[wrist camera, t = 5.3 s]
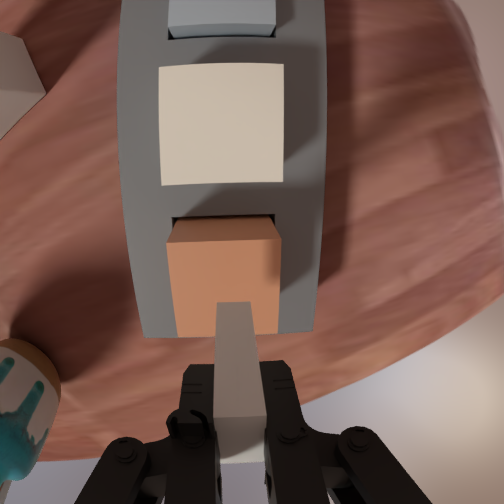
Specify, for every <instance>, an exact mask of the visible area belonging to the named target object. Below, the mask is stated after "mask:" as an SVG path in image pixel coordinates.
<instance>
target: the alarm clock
mask: <svg viewBox="0 0 504 504" xmlns="http://www.w3.org/2000/svg"><path fill="white" fill-rule="evenodd" d="M11 482H12V480H6V481H4V482H3V483H2V485H1V487H0V504H4V501H5V499H6V496H7V493H8V490H9V487H10V484H11Z"/></svg>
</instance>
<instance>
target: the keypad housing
mask: <svg viewBox="0 0 504 504" xmlns="http://www.w3.org/2000/svg"><path fill="white" fill-rule="evenodd" d="M275 3H276V25H275V27H274V29H273V31H272V33H271V35H270V37H269V38H266V37H207V38H189V39H176V40H175V39H174V37H173V36H172V34H171V32H170V30H169V28H168V12H169V0H122V5H121V15H120V27H119V42H118V63H117V131H118V153H119V169H120V182H121V194H122V204H123V214H124V222H125V230H126V238H127V246H128V253H129V259H130V266H131V272H132V278H133V284H134V290H135V295H136V301H137V306H138V311H139V316H140V321H141V326H142V330H143V335H144V338H197V337H178V334H177V327H176V320H175V313H174V306H173V299H172V291H171V283H170V274H169V266H168V257H167V247H166V242H167V240H168V238H169V236H170V234H171V232H172V230H173V227H174V225H175V223H176V221H177V219H178V217H188V216H214V215H248V214H268V215H269V217H270V218H271V220H272V222H273V224H274V226H275V228H276V230H277V232H278V233H279V235H280V237H281V268H280V293H279V316H278V333H277V334H284V333H297V332H309V331H313V323H314V315H315V306H316V296H317V286H318V276H319V265H320V253H321V240H322V226H323V210H324V192H325V171H326V139H327V56H326V26H325V7H324V0H275ZM208 63H270V64H284V143H283V182H236V183H204V184H182V185H164V186H162V185H161V167H160V143H159V67H165V66H176V65H189V64H208ZM261 335H269V334H261Z"/></svg>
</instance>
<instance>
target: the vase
mask: <svg viewBox="0 0 504 504" xmlns="http://www.w3.org/2000/svg"><path fill="white" fill-rule="evenodd" d="M60 397H61V384H60V379H59V376H58V373H57V371H56V369H55V367H54V365H53V363H52V362H51V361H50V359H49V358H48V357H47V356H46V355H45V354H44V353H43V352H42V351H41V350H39V349H38V348H37V347H35V346H34V345H32V344H30V343H29V342H26V341H24V340H20V339H13V338H12V339H5V340H2V341H0V487H1V485H2V483H3V482H4V481H6V480H15V481H18V480H22V479H24V478H25V477H26V476H27V475H28V474H29V473H30V472H31V470H32V469H33V467H34V465H35V464H36V462H37V460H38V458H39V456H40V453H41V451H42V449H43V446H44V444H45V442H46V439H47V437H48V434H49V432H50V429H51V427H52V424H53V421H54V418H55V415H56V412H57V409H58V406H59V402H60Z"/></svg>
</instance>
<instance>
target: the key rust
mask: <svg viewBox="0 0 504 504" xmlns="http://www.w3.org/2000/svg"><path fill="white" fill-rule="evenodd" d="M166 247H167V257H168V266H169V274H170V283H171V291H172V299H173V306H174V313H175V320H176V327H177V334H178V337H215V334H216V309H217V302H247V301H250V302H251V310H252V317H253V324H254V331H255V335H261V334H277V333H278V316H279V293H280V268H281V237H280V235H279V233H278V232H277V230H276V228H275V226H274V224H273V222H272V220H271V218H270V217H269V215H268V214H248V215H214V216H188V217H178V219H177V221H176V223H175V225H174V227H173V230H172V232H171V234H170V236H169V238H168V240H167V242H166Z"/></svg>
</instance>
